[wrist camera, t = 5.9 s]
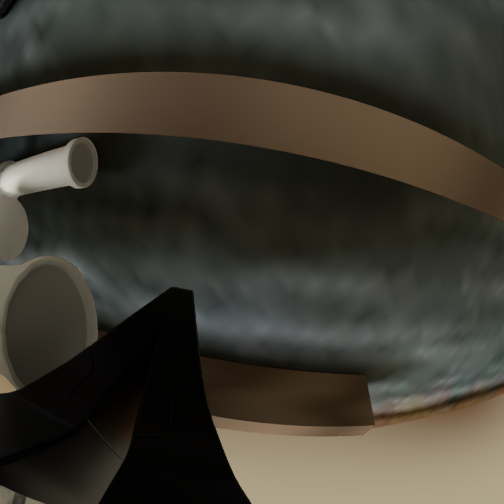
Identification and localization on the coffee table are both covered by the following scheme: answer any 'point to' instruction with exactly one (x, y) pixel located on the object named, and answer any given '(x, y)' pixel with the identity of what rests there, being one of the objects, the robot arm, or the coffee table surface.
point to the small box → (4, 6)
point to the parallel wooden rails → (278, 138)
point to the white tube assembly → (42, 271)
